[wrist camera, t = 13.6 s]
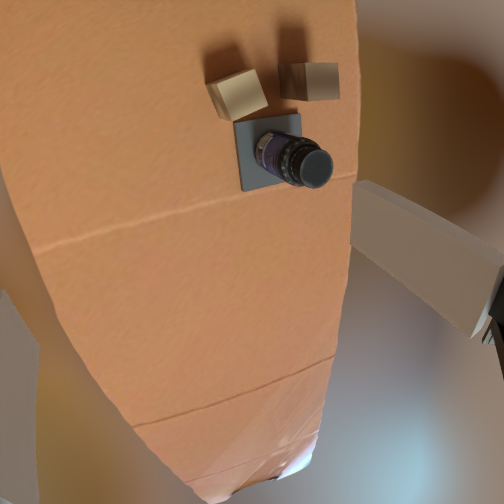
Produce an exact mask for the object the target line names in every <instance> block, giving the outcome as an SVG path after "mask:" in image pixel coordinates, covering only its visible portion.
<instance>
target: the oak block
mask: <svg viewBox="0 0 504 504" xmlns="http://www.w3.org/2000/svg"><path fill="white" fill-rule="evenodd" d="M205 86H206V88H207V90H208V93H209V95H210V97H211V99H212V102H213V104H214V106H215V109H216V111H217V113H218V116H219V118H221V119H224V120H228V121H232V122H233V121H235V120H237V119H239V118H241V117H244V116H246V115H248V114H250V113H252V112H255V111H257V110H259V109H262V108H264V107H266V106H268V103H267V101H266V98H265V95H264V92H263V90H262V87H261V84H260V82H259V79H258V77H257V74H256V71H255V69H250V70H242V71H238V72H235V73H233V74H230V75H228V76H225V77H223V78H220V79H218V80H215V81H213V82H211V83H208V84H206V85H205Z"/></svg>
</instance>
